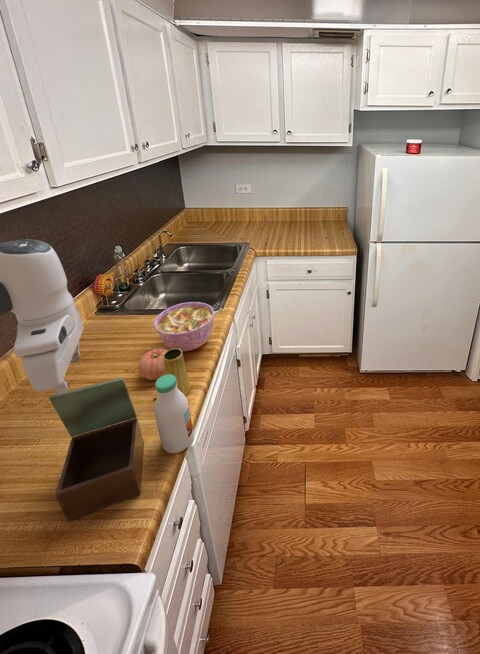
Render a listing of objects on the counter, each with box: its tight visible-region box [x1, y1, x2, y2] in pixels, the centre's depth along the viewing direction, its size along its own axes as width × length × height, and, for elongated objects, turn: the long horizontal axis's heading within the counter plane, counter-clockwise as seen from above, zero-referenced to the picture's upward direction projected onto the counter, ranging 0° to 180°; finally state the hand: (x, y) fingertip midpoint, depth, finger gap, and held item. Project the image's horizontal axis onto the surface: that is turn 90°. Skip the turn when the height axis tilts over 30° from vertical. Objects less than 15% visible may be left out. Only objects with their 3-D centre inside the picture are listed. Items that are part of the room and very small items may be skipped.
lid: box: [48, 377, 138, 438], centre depth 75 cm, size 15×14×1 cm
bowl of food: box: [153, 301, 215, 352], centre depth 119 cm, size 20×20×12 cm
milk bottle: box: [154, 375, 195, 454], centre depth 82 cm, size 8×8×20 cm
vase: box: [163, 348, 192, 397], centre depth 98 cm, size 6×6×14 cm
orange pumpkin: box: [137, 347, 169, 381], centre depth 106 cm, size 11×11×8 cm
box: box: [55, 417, 145, 523], centre depth 75 cm, size 14×14×9 cm
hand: (70, 374), depth 70 cm, fingers open, 8 cm apart
